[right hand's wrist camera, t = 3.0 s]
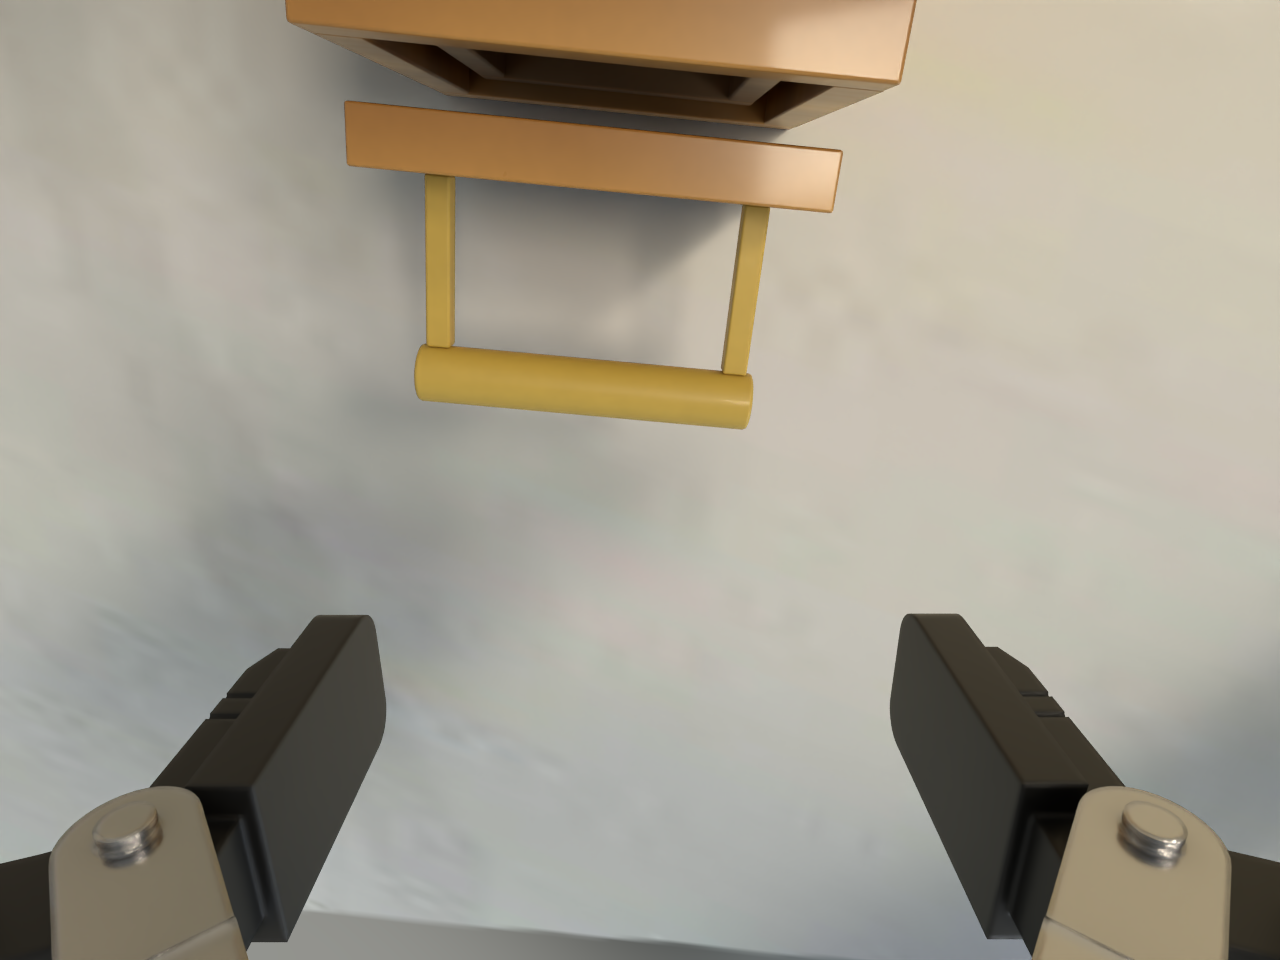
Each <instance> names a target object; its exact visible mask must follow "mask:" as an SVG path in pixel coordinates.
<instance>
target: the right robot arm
mask: <svg viewBox="0 0 1280 960" xmlns="http://www.w3.org/2000/svg"><path fill="white" fill-rule="evenodd" d="M890 718H891V726H892V731H893V735H894V738H895V741H896V744H897V746H898V748H899V750H900V752H901V755H902V757H903V759H904V761H905V763H906V765H907V768H908V770H909V772H910V774H911V776H912V778H913V780H914V783H915V785H916V787H917V789H918V791H919V793H920V796H921V798H922V800H923V802H924V804H925V806H926V808H927V811H928V813H929V815H930V817H931V819H932V821H933V824H934V826H935V828H936V830H937V832H938V834H939V836H940V839H941V841H942V843H943V845H944V847H945V849H946V852H947V854H948V856H949V858H950V860H951V862H952V864H953V867H954V869H955V871H956V873H957V875H958V877H959V880H960V882H961V884H962V886H963V888H964V890H965V892H966V895H967V897H968V899H969V901H970V903H971V905H972V908H973V910H974V912H975V914H976V916H977V918H978V920H979V923H980V925H981V927H982V929H983V931H984V933H985V935H986V938H987V939H1023V941H1024V943H1025V945H1026V947H1027V948H1028V950H1029V952H1030V954H1031V956H1032V960H1280V863H1279V862H1275V861H1271V860H1267V859H1262V858H1258V857H1254V856H1249V855H1245V854H1241V853H1237V852H1232V851H1229V850H1227V848H1226V847H1225V845H1224V843H1223V842H1222V840H1221V839H1220V838H1219V837H1218V835H1217V834H1216V833H1215V832H1214V831H1213V830H1212V829H1211V828H1210V827H1209V826H1208V825H1207V824H1206V823H1205V822H1203V821H1202V820H1201V819H1199V818H1198V817H1197V816H1195V815H1194V814H1193V813H1191V812H1190V811H1188V810H1186V809H1185V808H1183V807H1181V806H1180V805H1178V804H1176V803H1174V802H1172V801H1170V800H1168V799H1165V798H1163V797H1161V796H1158V795H1156V794H1153V793H1150V792H1147V791H1143V790H1139V789H1135V788H1129V787H1125V785H1124V784H1123V783H1122V782H1121V781H1120V779H1119V778H1118V777H1117V776H1116V774H1115V773H1114V772H1113V771H1112V770H1111V768H1110V767H1109V766H1108V765H1107V763H1106V762H1105V761H1104V760H1103V758H1102V757H1101V756H1100V755H1099V754H1098V752H1097V751H1096V750H1095V749H1094V747H1093V746H1092V745H1091V744H1090V743H1089V741H1088V740H1087V739H1086V738H1085V736H1084V735H1083V734H1082V733H1081V732H1080V730H1079V729H1078V728H1077V727H1076V725H1075V724H1074V723H1073V722H1072V720H1071V719H1070V718H1069V717H1065V715H1064V711H1063V709H1062V708H1061V707H1060V706H1059V705H1058V703H1057V702H1056V701H1055V700H1054V698H1053V697H1049V696H1048V691H1047V690H1046V689H1045V687H1044V686H1043V685H1042V684H1041V682H1040V681H1039V680H1038V679H1037V678H1036V676H1035V675H1034V674H1033V673H1032V671H1031V670H1030V669H1029V668H1028V667H1027V666H1025V665H1024V664H1022V663H1021V662H1019V661H1018V660H1016V659H1015V658H1013V657H1012V656H1010V655H1009V654H1007V653H1006V652H1004V651H1003V650H1001V649H1000V648H998V647H985V646H984V645H983V644H982V642H981V641H980V640H979V638H978V637H977V636H976V634H975V633H974V632H973V630H972V629H971V628H970V626H969V625H968V624H967V622H966V621H965V620H964V619H963V617H962V616H960V615H959V614H907V615H905V617H904V618H903V621H902V623H901V628H900V634H899V641H898V648H897V655H896V662H895V670H894V677H893V684H892V691H891V698H890ZM385 721H386V698H385V691H384V684H383V677H382V670H381V663H380V656H379V649H378V642H377V635H376V629H375V625H374V622H373V620H372V618H371V617H370V616H369V615H318V616H316V617H314V618H313V619H312V621H311V622H310V623H309V625H308V626H307V627H306V628H305V630H304V631H303V632H302V634H301V635H300V636H299V638H298V639H297V640H296V641H295V643H294V644H293V645H292V647H291V648H278V649H276V650H275V651H273V652H272V653H270V654H269V655H267V656H266V657H264V658H263V659H261V660H260V661H258V662H257V663H255V664H254V665H252V666H251V667H249V668H248V669H247V670H246V671H245V672H244V673H243V674H242V676H241V677H240V678H239V679H238V681H237V682H236V683H235V684H234V685H233V687H232V688H231V689H230V690H229V691H228V693H227V697H226V698H223V699H222V700H221V701H220V702H219V704H218V705H217V706H216V707H215V708H214V710H213V711H212V712H211V713H210V719H205V721H204V722H203V723H202V724H201V725H200V727H199V728H198V729H197V730H196V732H195V733H194V734H193V735H192V736H191V738H190V739H189V740H188V741H187V742H186V744H185V745H184V746H183V747H182V749H181V750H180V751H179V752H178V753H177V755H176V756H175V757H174V758H173V759H172V761H171V762H170V763H169V764H168V766H167V767H166V768H165V769H164V770H163V772H162V773H161V774H160V775H159V776H158V778H157V779H156V780H155V781H154V783H153V784H152V785H151V786H150V787H149V788H145V789H141V790H137V791H133V792H130V793H127V794H124V795H122V796H119V797H117V798H115V799H112V800H110V801H108V802H106V803H104V804H102V805H100V806H99V807H97V808H95V809H94V810H92V811H90V812H89V813H87V814H86V815H85V816H83V817H82V818H81V819H79V820H78V821H77V822H75V823H74V824H73V825H72V826H71V827H70V828H69V829H68V830H67V831H66V832H65V833H64V834H63V835H62V837H61V838H60V839H59V840H58V842H57V843H56V845H55V847H54V848H53V850H52V851H51V852H47V853H44V854H40V855H36V856H32V857H27V858H23V859H19V860H14V861H10V862H6V863H2V864H0V960H248V956H247V953H246V951H247V949H248V947H249V945H250V943H251V942H287V941H288V939H289V937H290V935H291V933H292V931H293V929H294V926H295V924H296V922H297V920H298V918H299V916H300V914H301V912H302V909H303V907H304V905H305V903H306V901H307V899H308V897H309V895H310V892H311V890H312V888H313V886H314V884H315V882H316V880H317V878H318V875H319V873H320V871H321V869H322V867H323V865H324V863H325V861H326V858H327V856H328V854H329V852H330V850H331V848H332V846H333V844H334V841H335V839H336V837H337V835H338V833H339V831H340V829H341V826H342V824H343V822H344V820H345V818H346V816H347V814H348V812H349V809H350V807H351V805H352V803H353V801H354V799H355V797H356V795H357V792H358V790H359V788H360V786H361V784H362V782H363V780H364V778H365V775H366V773H367V771H368V769H369V767H370V765H371V763H372V761H373V758H374V756H375V754H376V752H377V750H378V748H379V746H380V743H381V740H382V737H383V733H384V728H385Z"/></svg>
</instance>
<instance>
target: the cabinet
mask: <svg viewBox="0 0 1280 960" xmlns="http://www.w3.org/2000/svg"><path fill="white" fill-rule="evenodd" d="M916 1H917V0H285V4H286V18H287V21H288V22H290V23H292V24H294V25H296V26H298V27H300V28H302V29H305V30H307V31H309V32H311V33H314V34H316V35H318V36H320V37H322V38H324V39H326V40H328V41H331V42H333V43H335V44H337V45H339V46H341V47H344V48H346V49H348V50H350V51H352V52H354V53H357V54H359V55H361V56H363V57H365V58H367V59H369V60H372V61H374V62H376V63H378V64H380V65H382V66H385V67H387V68H389V69H391V70H393V71H395V72H398V73H400V74H402V75H404V76H406V77H408V78H411V79H413V80H415V81H417V82H419V83H421V84H423V85H426V86H428V87H430V88H432V89H434V90H436V91H439V92H441V93H443V94H445V95H450V96H460V97H470V98H480V99H490V100H500V101H510V102H519V103H529V104H539V105H549V106H559V107H569V108H579V109H589V110H599V111H609V112H619V113H629V114H638V115H648V116H658V117H668V118H678V119H688V120H698V121H708V122H718V123H728V124H738V125H748V126H758V127H767V128H777V129H787V130H789V129H791V128H794V127H797V126H800V125H802V124H805V123H807V122H810V121H812V120H814V119H817V118H819V117H822V116H824V115H827V114H829V113H832V112H834V111H837V110H839V109H841V108H844V107H846V106H849V105H851V104H854V103H856V102H859V101H861V100H864V99H866V98H868V97H871V96H873V95H876V94H878V93H881V92H883V91H884V90H887V89H889V88H892V87H894V86H896V85H899V84H900V82H901V79H902V74H903V69H904V64H905V59H906V53H907V48H908V43H909V38H910V33H911V27H912V22H913V17H914V12H915V7H916ZM436 45H437V46H436ZM438 46H447V47H456V48H466V49H476V50H486V51H496V52H505V53H515V54H525V55H535V56H544V57H554V58H564V59H574V60H583V61H593V62H603V63H613V64H622V65H632V66H642V67H652V68H662V69H671V70H681V71H691V72H701V73H710V74H720V75H730V76H740V77H749V78H759V79H769V80H779V81H780V82H779V83H777V84H776V85H775V86H774V87H772V88H771V89H770V90H769V91H767V92H766V93H765V94H764V95H762V96H761V97H760V98H759V99H757V100H756V101H755V102H754V103H753V104H751V105H749V106H748V105H738V104H728V103H718V102H708V101H698V100H688V99H679V98H669V97H659V96H649V95H639V94H629V93H619V92H610V91H600V90H590V89H580V88H570V87H560V86H550V85H541V84H531V83H521V82H511V81H501V80H491V79H485V78H483V77H482V76H480V75H479V74H478V73H476V72H475V71H473V70H472V69H470V68H469V67H467V66H466V65H464V64H463V63H461V62H460V61H459V60H457V59H456V58H454V57H453V56H451V55H450V54H448V53H447V52H445V51H444V50H442V49H441V48H439V47H438Z"/></svg>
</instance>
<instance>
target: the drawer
mask: <svg viewBox="0 0 1280 960" xmlns="http://www.w3.org/2000/svg"><path fill="white" fill-rule="evenodd" d="M436 46H437V45H436ZM438 47H439V48H441V49H442V50H444V51H445V52H447V53H448V54H450V55H451V56H453V57H454V58H456V59H457V60H459V61H460V62H461V63H463V64H464V65H466V66H467V67H469V68H470V69H472V70H473V71H475V72H476V73H478V74H479V75H480V76H482V77H483V78H485V79H491V80H501V81H511V82H521V83H531V84H541V85H550V86H560V87H570V88H580V89H590V90H600V91H610V92H619V93H629V94H639V95H649V96H659V97H669V98H679V99H688V100H698V101H708V102H718V103H728V104H738V105H748V106H749V105H751V104H753V103H754V102H755V101H756V100H757V99H759V98H760V97H761V96H762V95H764V94H765V93H766V92H767V91H769V90H770V89H771V88H772V87H774V86H775V85H776V84H777V83H779V82H780V81H779V80H769V79H759V78H749V77H740V76H730V75H720V74H710V73H701V72H691V71H681V70H671V69H662V68H652V67H642V66H632V65H622V64H613V63H603V62H593V61H583V60H574V59H564V58H554V57H544V56H535V55H525V54H515V53H505V52H496V51H486V50H476V49H466V48H456V47H447V46H438ZM344 110H345V133H346V156H347V164H348V165H349V166H355V167H365V168H375V169H385V170H395V171H406V172H416V173H426V174H425V249H426V343H427V344H423V345H422V346H421V347H420V349H419V351H418V354H417V357H416V362H415V370H414V382H415V389H416V393H417V396H418V398H419V399H421V400H423V401H433V402H444V403H455V404H466V405H477V406H488V407H499V408H510V409H521V410H532V411H543V412H555V413H566V414H577V415H588V416H599V417H610V418H621V419H632V420H643V421H654V422H665V423H676V424H687V425H698V426H709V427H720V428H731V429H745V428H746V427H747V425H748V422H749V419H750V415H751V409H752V401H753V380H752V376H751V375H750V374H748V373H746V372H747V365H748V358H749V351H750V344H751V337H752V330H753V323H754V317H755V310H756V303H757V296H758V289H759V282H760V275H761V268H762V261H763V254H764V247H765V241H766V234H767V227H768V220H769V213H770V207H773V208H783V209H793V210H803V211H813V212H823V213H832V211H833V208H834V202H835V196H836V190H837V185H838V179H839V173H840V167H841V162H842V156H843V152H842V151H841V150H836V149H826V148H816V147H806V146H796V145H786V144H776V143H766V142H756V141H746V140H736V139H726V138H716V137H706V136H696V135H686V134H676V133H666V132H656V131H646V130H636V129H626V128H616V127H606V126H597V125H587V124H577V123H567V122H557V121H547V120H537V119H527V118H517V117H507V116H497V115H487V114H477V113H467V112H457V111H447V110H437V109H427V108H417V107H407V106H397V105H387V104H377V103H367V102H357V101H345V102H344ZM454 176H457V177H467V178H477V179H487V180H497V181H508V182H518V183H528V184H538V185H548V186H558V187H569V188H579V189H589V190H599V191H609V192H620V193H630V194H640V195H650V196H660V197H671V198H681V199H691V200H701V201H711V202H722V203H732V204H742V205H743V206H742V212H741V220H740V228H739V235H738V243H737V250H736V258H735V265H734V273H733V281H732V288H731V296H730V303H729V311H728V318H727V326H726V334H725V341H724V349H723V356H722V364H721V369H722V371H717V370H706V369H695V368H684V367H673V366H663V365H652V364H641V363H630V362H619V361H609V360H598V359H587V358H576V357H565V356H554V355H544V354H533V353H522V352H511V351H500V350H490V349H479V348H468V347H457V346H452V345H453V344H454V342H455V177H454Z"/></svg>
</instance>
